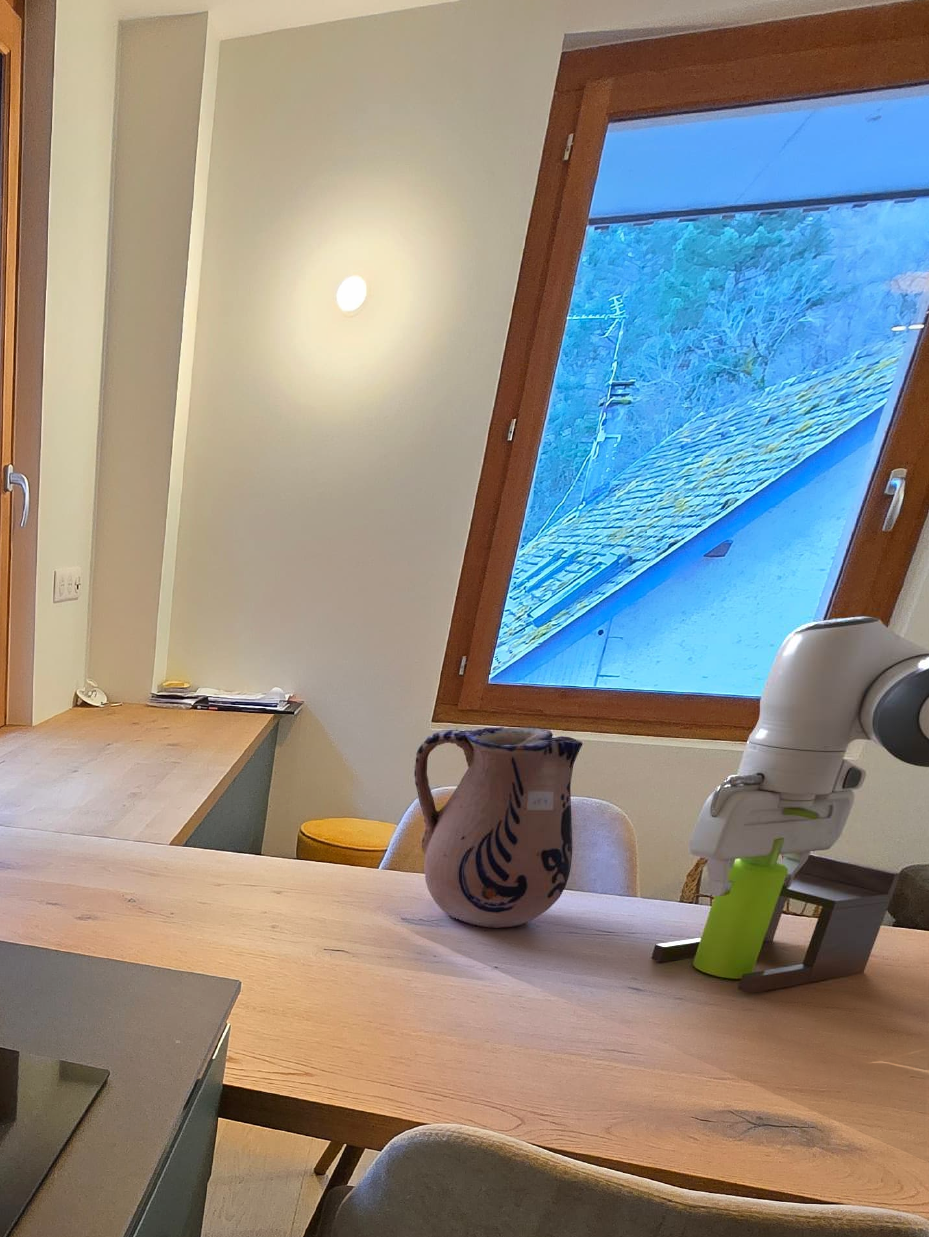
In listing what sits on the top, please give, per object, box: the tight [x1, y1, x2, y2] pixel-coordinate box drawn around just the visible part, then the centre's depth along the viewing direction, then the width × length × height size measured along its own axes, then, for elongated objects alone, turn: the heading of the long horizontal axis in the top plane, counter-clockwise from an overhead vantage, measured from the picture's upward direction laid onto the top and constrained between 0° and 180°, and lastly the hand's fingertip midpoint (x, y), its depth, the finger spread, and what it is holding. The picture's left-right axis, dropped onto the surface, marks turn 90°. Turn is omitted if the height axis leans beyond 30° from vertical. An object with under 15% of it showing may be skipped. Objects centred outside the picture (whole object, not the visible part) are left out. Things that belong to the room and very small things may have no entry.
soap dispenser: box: [692, 807, 820, 980], centre depth 120 cm, size 6×7×20 cm
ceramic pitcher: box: [414, 726, 583, 929], centre depth 138 cm, size 18×21×25 cm
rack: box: [650, 852, 901, 994], centre depth 124 cm, size 12×20×12 cm, turn 110°
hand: (747, 891), depth 121 cm, fingers open, 8 cm apart
